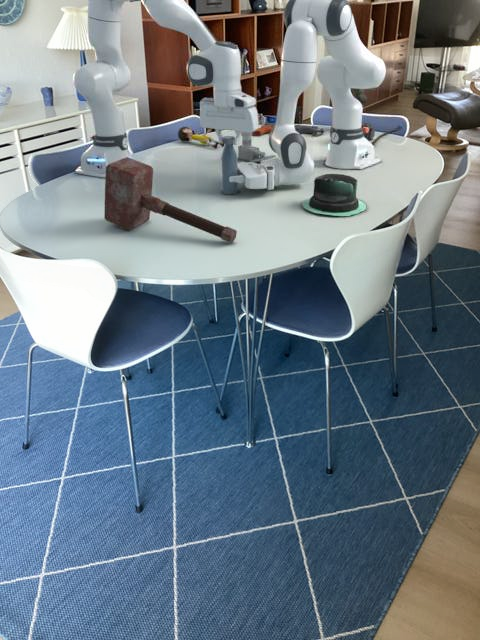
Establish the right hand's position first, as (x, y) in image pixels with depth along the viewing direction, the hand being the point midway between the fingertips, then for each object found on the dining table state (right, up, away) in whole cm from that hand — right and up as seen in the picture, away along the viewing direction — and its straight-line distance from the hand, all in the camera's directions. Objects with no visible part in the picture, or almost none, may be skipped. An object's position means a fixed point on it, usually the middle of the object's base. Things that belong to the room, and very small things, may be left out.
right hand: (227, 176), depth 187 cm
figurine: (-14, +31, +65) cm, 73 cm away
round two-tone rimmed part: (+34, -13, -12) cm, 38 cm away
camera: (+10, +16, +37) cm, 42 cm away
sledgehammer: (-15, -24, -29) cm, 40 cm away
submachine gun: (+26, +39, +76) cm, 90 cm away
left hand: (+1, +9, -5) cm, 11 cm away
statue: (+60, +43, +82) cm, 110 cm away
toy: (+56, +30, +59) cm, 87 cm away
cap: (+1, +11, -6) cm, 13 cm away
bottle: (+1, -5, +3) cm, 6 cm away
